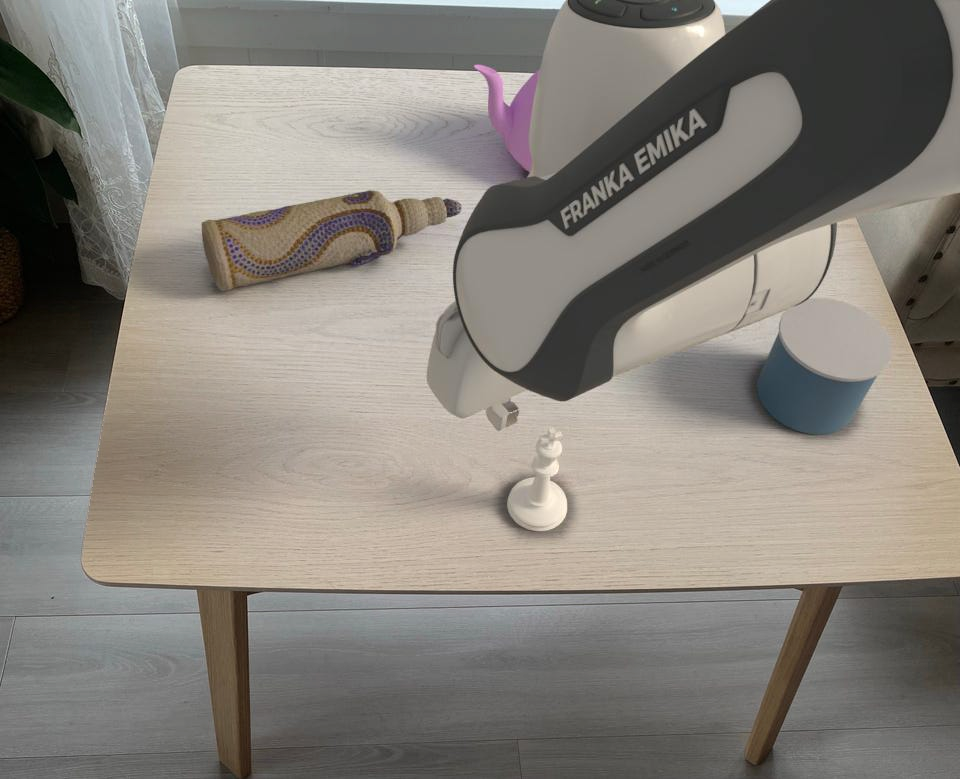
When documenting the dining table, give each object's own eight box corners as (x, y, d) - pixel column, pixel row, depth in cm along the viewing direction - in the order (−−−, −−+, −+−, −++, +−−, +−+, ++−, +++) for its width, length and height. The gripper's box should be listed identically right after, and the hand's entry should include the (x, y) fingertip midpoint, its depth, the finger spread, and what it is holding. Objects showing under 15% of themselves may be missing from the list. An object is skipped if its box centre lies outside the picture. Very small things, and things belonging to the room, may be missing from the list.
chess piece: (499, 488, 79) (510, 412, 71) (554, 475, 80) (571, 399, 72) (518, 537, 76) (532, 463, 68) (575, 524, 77) (595, 449, 69)
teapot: (471, 199, 103) (478, 100, 94) (464, 123, 112) (470, 27, 103) (651, 201, 105) (675, 104, 96) (629, 126, 114) (650, 32, 105)
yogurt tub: (871, 438, 85) (908, 379, 79) (767, 437, 84) (796, 378, 78) (840, 358, 91) (872, 298, 85) (743, 357, 90) (768, 296, 84)
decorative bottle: (221, 310, 90) (211, 256, 85) (205, 259, 94) (194, 205, 89) (474, 254, 97) (478, 201, 92) (447, 209, 102) (450, 157, 97)
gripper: (469, 343, 51) (455, 487, 62) (746, 227, 59) (691, 372, 70) (410, 271, 54) (406, 421, 65) (680, 171, 62) (638, 318, 73)
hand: (556, 395), depth 67 cm, fingers open, 8 cm apart
